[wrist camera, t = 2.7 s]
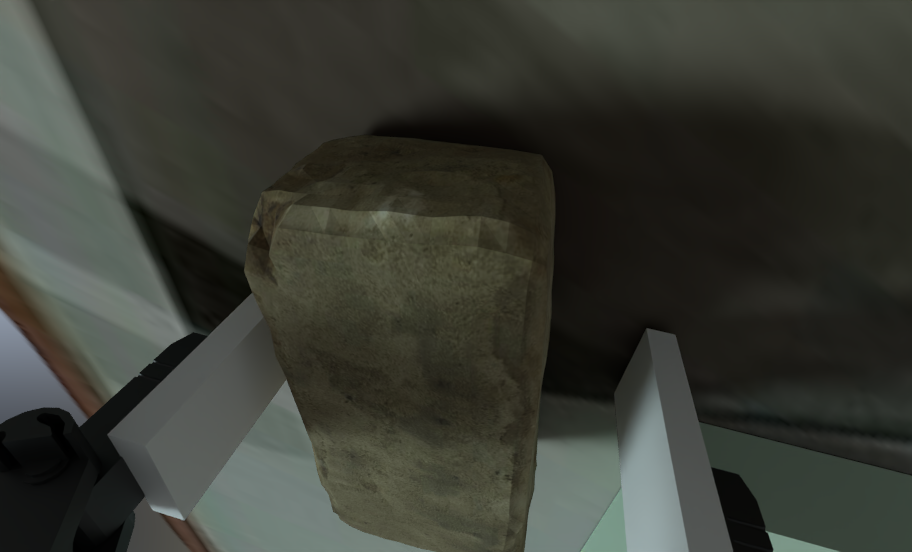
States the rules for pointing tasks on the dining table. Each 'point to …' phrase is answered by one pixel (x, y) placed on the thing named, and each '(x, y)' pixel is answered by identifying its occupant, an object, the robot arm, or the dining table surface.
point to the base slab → (799, 498)
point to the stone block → (414, 330)
